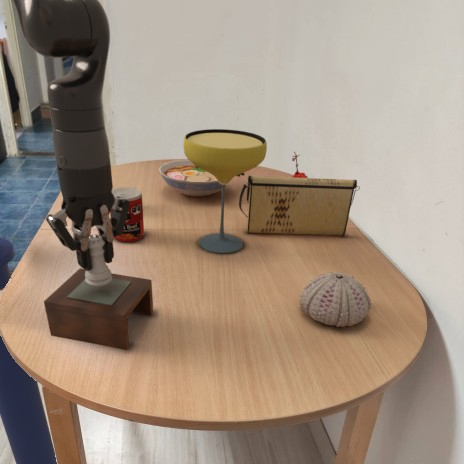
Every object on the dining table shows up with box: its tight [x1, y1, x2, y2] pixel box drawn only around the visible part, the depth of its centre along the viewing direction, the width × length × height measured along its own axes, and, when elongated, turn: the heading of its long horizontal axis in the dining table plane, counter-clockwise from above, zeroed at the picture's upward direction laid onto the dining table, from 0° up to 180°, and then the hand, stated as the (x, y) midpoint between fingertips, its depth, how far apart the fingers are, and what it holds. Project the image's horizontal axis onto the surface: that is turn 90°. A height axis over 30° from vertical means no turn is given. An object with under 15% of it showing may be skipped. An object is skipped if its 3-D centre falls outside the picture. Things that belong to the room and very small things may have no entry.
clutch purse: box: [238, 175, 361, 237], centre depth 116 cm, size 30×7×15 cm, turn 92°
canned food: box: [109, 187, 145, 243], centre depth 110 cm, size 8×8×11 cm
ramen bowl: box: [158, 158, 246, 198], centre depth 139 cm, size 25×23×8 cm
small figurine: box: [291, 151, 309, 178], centre depth 135 cm, size 8×7×15 cm
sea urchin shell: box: [299, 272, 372, 328], centre depth 86 cm, size 13×14×8 cm
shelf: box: [43, 267, 154, 351], centre depth 79 cm, size 14×12×7 cm
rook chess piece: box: [85, 234, 112, 287], centre depth 74 cm, size 4×4×8 cm
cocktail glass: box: [183, 128, 268, 255], centre depth 105 cm, size 18×18×25 cm
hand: (96, 264), depth 75 cm, fingers closed on rook chess piece, 3 cm apart
